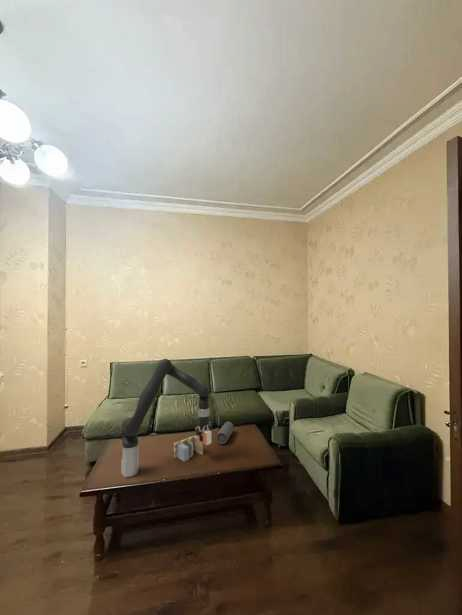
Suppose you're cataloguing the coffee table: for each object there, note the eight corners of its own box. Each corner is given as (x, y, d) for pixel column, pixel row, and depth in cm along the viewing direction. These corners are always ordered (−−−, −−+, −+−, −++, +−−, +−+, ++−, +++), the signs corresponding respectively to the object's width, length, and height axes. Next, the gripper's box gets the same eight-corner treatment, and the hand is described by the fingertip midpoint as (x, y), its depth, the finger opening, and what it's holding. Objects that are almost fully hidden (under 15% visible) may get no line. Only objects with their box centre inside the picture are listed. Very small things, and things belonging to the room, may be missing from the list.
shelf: (182, 463, 180) (182, 448, 180) (173, 458, 187) (173, 443, 187) (203, 454, 192) (203, 439, 192) (194, 449, 199) (194, 435, 200)
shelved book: (183, 461, 182) (183, 449, 182) (177, 457, 188) (177, 445, 188) (188, 459, 185) (188, 447, 185) (182, 455, 190) (182, 443, 191)
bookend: (188, 458, 186) (188, 445, 186) (182, 455, 191) (182, 442, 191) (192, 456, 189) (192, 443, 189) (187, 453, 193) (187, 440, 194)
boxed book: (197, 440, 187) (197, 428, 187) (202, 438, 190) (202, 426, 190) (206, 445, 180) (206, 433, 180) (211, 443, 183) (211, 431, 183)
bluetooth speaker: (227, 446, 203) (227, 432, 204) (215, 445, 206) (215, 431, 206) (234, 433, 225) (234, 421, 226) (223, 432, 228) (223, 420, 228)
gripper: (208, 410, 193) (208, 434, 192) (192, 415, 183) (192, 441, 182) (215, 413, 188) (215, 438, 187) (198, 418, 178) (199, 445, 177)
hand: (204, 439), depth 185 cm, fingers closed on boxed book, 4 cm apart
